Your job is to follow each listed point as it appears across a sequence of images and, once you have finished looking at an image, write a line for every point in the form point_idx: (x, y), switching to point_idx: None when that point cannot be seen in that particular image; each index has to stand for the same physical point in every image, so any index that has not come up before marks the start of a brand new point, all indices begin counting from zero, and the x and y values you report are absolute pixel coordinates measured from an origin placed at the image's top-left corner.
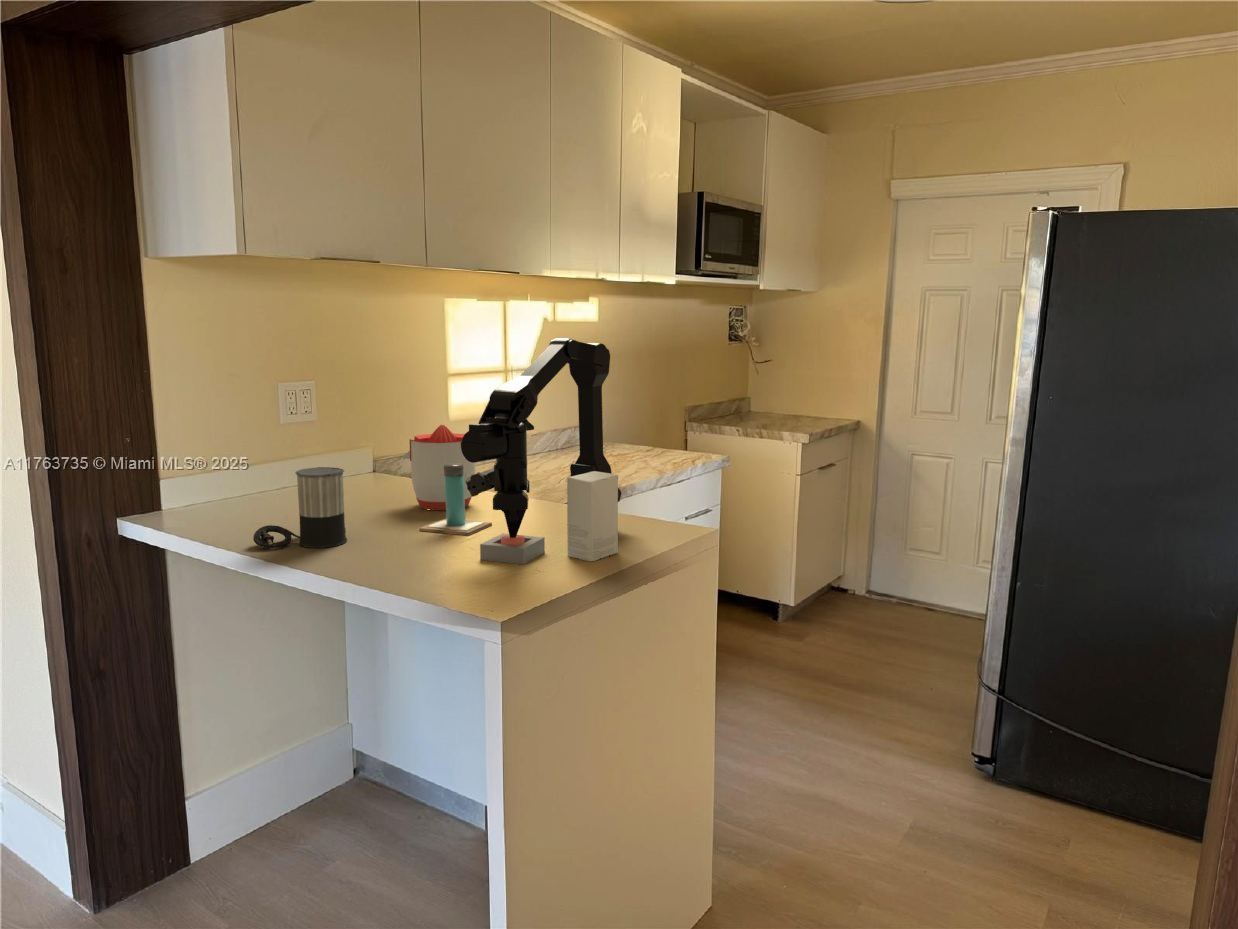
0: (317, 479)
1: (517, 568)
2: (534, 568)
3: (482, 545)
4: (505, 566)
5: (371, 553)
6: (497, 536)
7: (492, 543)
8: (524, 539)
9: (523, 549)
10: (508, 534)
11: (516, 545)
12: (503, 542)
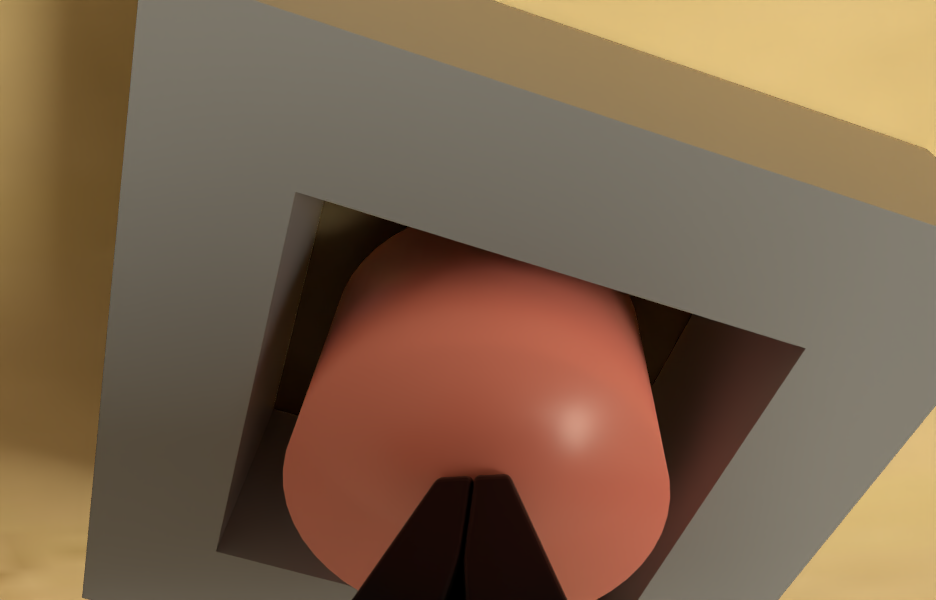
0: None
1: (11, 413)
2: (68, 538)
3: (143, 14)
4: (38, 296)
5: None
6: (798, 204)
7: (251, 197)
8: (653, 554)
9: (85, 588)
10: (924, 364)
11: (211, 523)
12: (336, 358)
